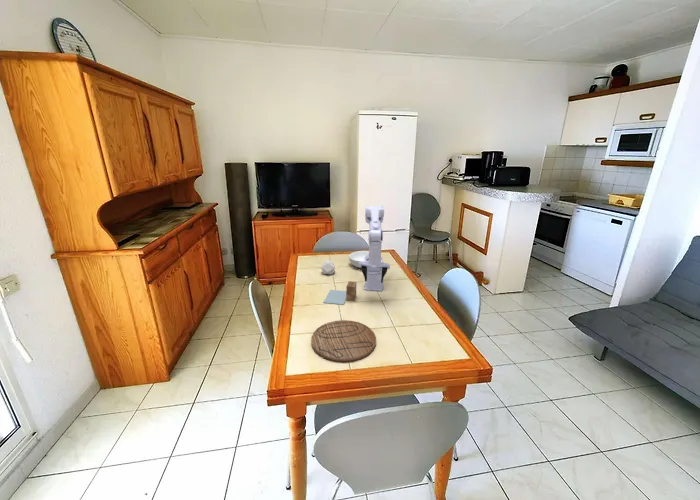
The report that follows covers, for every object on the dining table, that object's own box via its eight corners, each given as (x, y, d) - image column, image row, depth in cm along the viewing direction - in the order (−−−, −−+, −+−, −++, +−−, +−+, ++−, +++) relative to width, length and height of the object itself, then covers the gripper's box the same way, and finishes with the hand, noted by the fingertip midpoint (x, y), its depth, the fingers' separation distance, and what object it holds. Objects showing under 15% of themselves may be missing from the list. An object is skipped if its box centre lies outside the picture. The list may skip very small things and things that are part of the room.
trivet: (386, 356, 109) (386, 351, 109) (318, 369, 102) (317, 364, 102) (363, 320, 132) (363, 316, 131) (306, 329, 125) (306, 325, 125)
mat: (348, 292, 157) (348, 291, 157) (343, 304, 144) (343, 304, 144) (330, 290, 159) (330, 289, 159) (323, 303, 146) (323, 302, 146)
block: (356, 296, 153) (356, 281, 150) (354, 301, 147) (354, 287, 145) (348, 295, 153) (348, 281, 151) (346, 301, 148) (346, 286, 145)
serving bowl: (360, 258, 207) (360, 248, 205) (387, 264, 195) (387, 254, 193) (342, 266, 191) (342, 256, 189) (370, 274, 179) (370, 264, 177)
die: (329, 278, 175) (338, 264, 175) (317, 270, 175) (325, 256, 175) (330, 277, 183) (338, 264, 184) (318, 270, 183) (326, 257, 184)
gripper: (358, 256, 138) (357, 283, 143) (390, 258, 136) (388, 286, 140) (360, 251, 145) (359, 277, 149) (390, 253, 143) (389, 280, 147)
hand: (373, 281), depth 145 cm, fingers open, 7 cm apart
